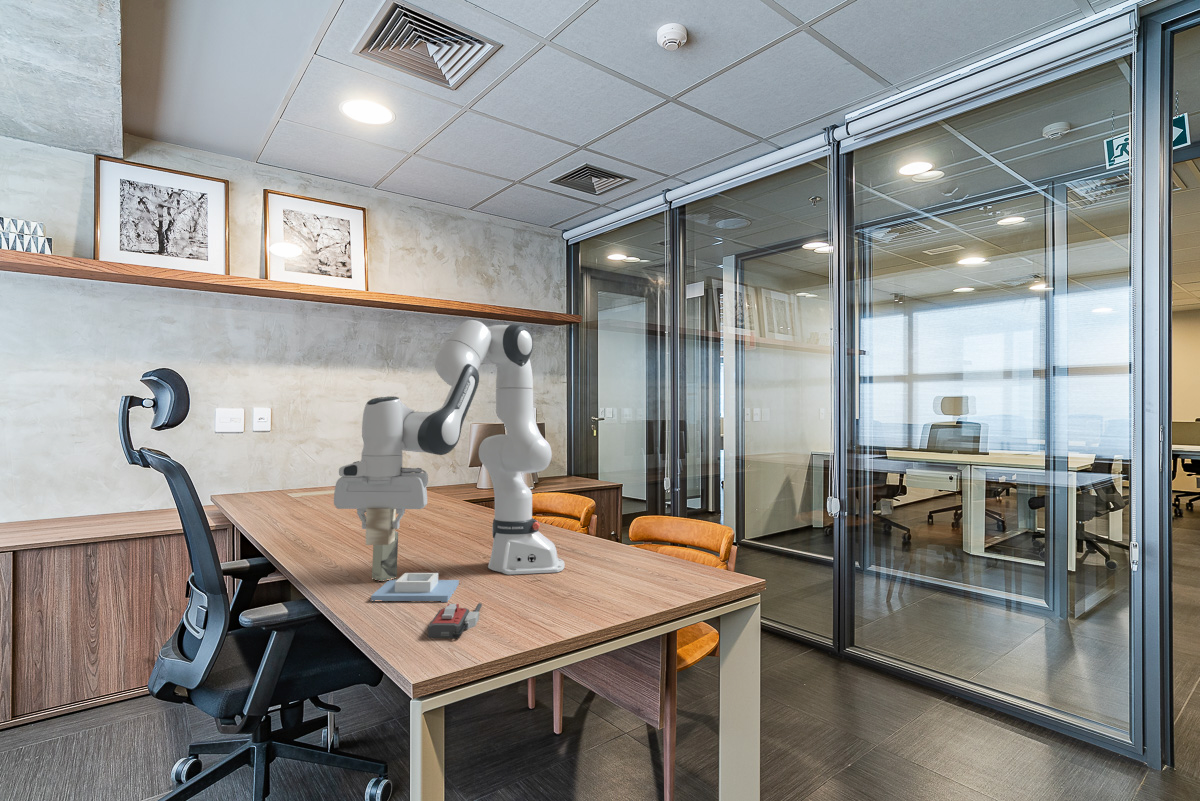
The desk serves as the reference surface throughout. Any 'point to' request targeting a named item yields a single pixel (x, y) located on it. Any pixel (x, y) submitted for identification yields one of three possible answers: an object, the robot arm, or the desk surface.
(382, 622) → the desk surface
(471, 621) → the walkie-talkie
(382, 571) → the box
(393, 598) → the base plate
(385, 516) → the block
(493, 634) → the desk surface
